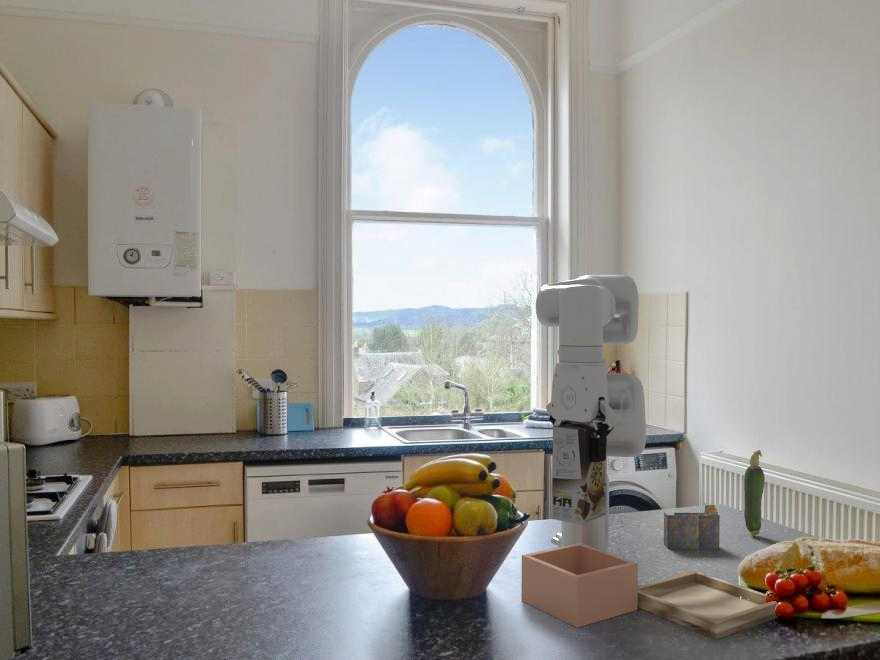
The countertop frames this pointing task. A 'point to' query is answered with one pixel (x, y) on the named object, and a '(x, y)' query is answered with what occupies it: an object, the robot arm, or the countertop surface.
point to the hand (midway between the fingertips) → (580, 456)
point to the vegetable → (753, 494)
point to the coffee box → (577, 476)
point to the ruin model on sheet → (692, 529)
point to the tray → (706, 604)
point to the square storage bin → (579, 583)
